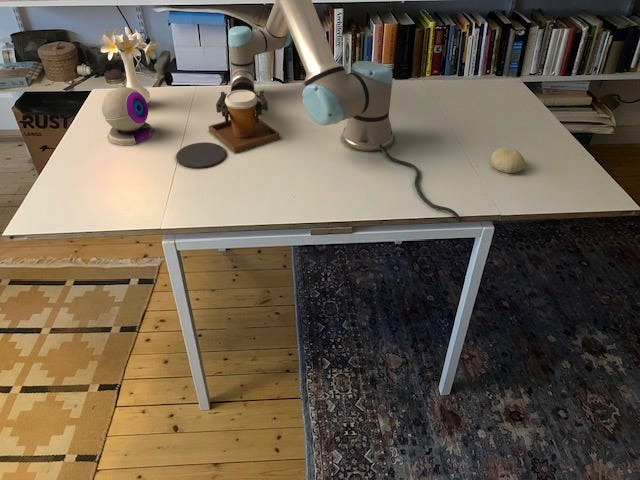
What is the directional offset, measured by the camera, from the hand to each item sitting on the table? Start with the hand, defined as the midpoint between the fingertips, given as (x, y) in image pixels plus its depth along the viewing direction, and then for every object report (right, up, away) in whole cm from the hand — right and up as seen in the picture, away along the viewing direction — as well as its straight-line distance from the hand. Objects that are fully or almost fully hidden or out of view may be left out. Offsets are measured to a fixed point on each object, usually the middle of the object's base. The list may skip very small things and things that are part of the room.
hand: (241, 118), depth 159 cm
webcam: (-35, -3, +8) cm, 36 cm away
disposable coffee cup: (-1, -3, +8) cm, 9 cm away
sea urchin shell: (+76, -15, -5) cm, 77 cm away
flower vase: (-38, +9, +24) cm, 46 cm away
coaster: (-12, -11, -2) cm, 16 cm away
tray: (-1, -3, +9) cm, 9 cm away
